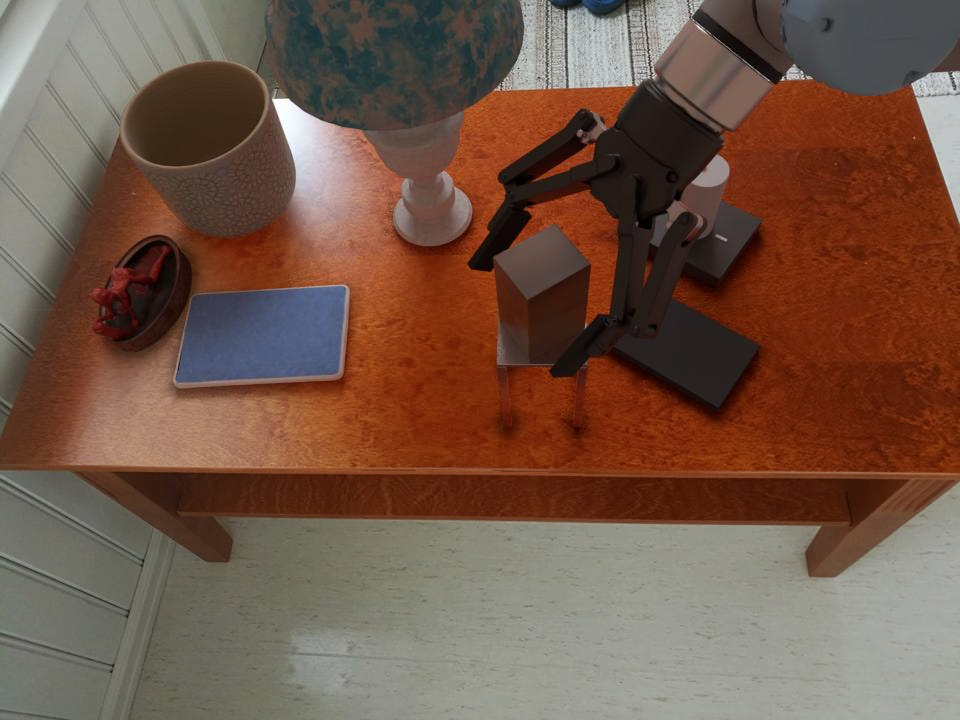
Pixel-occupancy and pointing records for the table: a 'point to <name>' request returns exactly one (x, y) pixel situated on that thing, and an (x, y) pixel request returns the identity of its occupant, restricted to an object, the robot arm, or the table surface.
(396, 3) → the table lamp
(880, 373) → the table surface
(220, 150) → the planter
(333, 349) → the tablet
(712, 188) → the oven dial
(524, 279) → the block
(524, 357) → the square metal stool
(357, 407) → the table surface
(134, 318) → the figurine
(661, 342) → the mat
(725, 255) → the panel
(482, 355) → the table surface
